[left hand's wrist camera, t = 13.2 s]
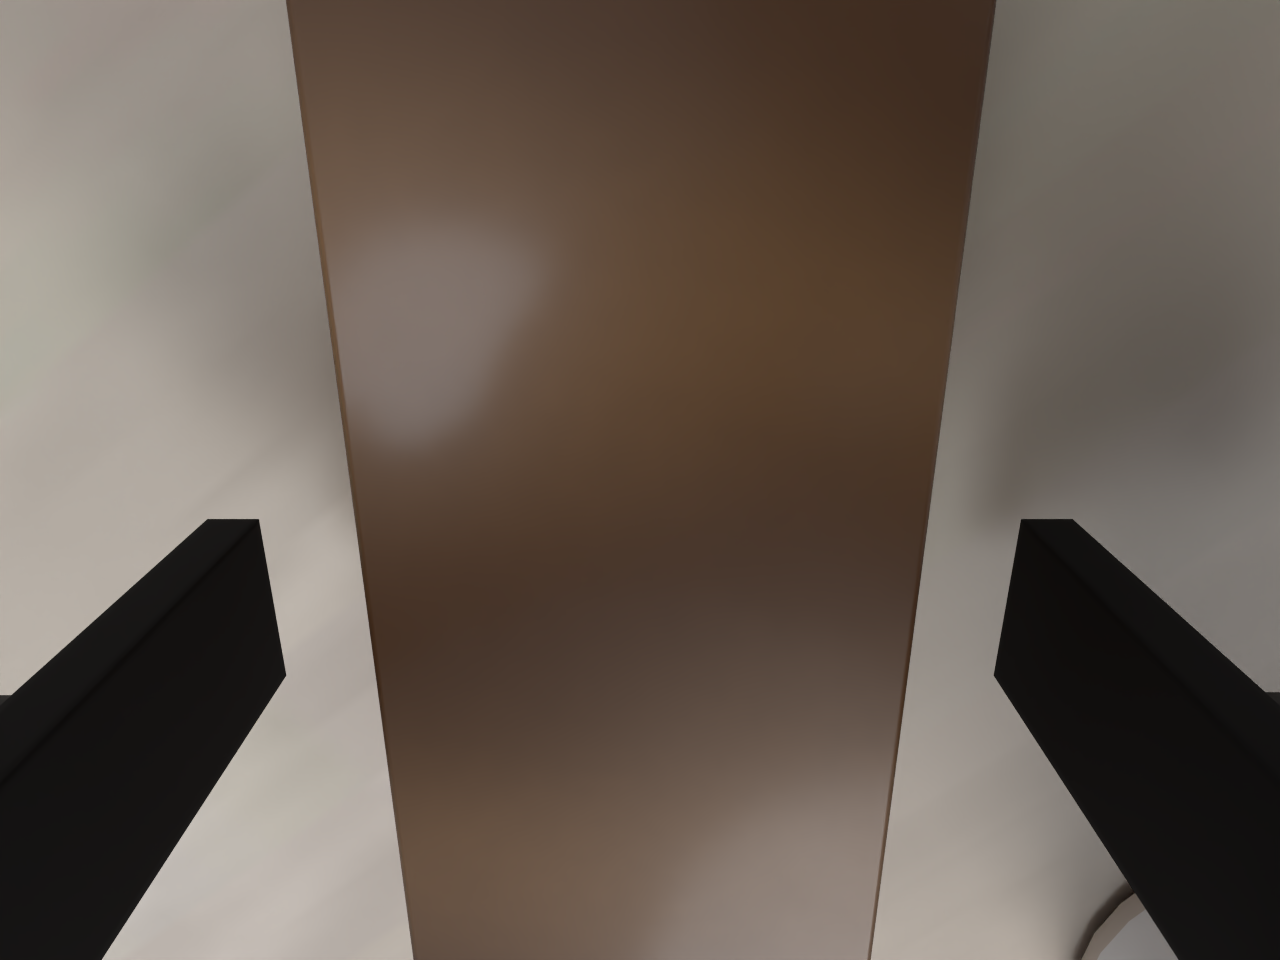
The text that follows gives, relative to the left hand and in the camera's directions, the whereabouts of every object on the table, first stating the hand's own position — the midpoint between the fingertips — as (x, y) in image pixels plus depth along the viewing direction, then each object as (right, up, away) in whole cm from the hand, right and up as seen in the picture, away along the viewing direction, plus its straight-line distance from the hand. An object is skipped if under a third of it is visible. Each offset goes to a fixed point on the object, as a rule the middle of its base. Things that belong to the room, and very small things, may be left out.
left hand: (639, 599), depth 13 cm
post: (0, +24, -6) cm, 25 cm away
